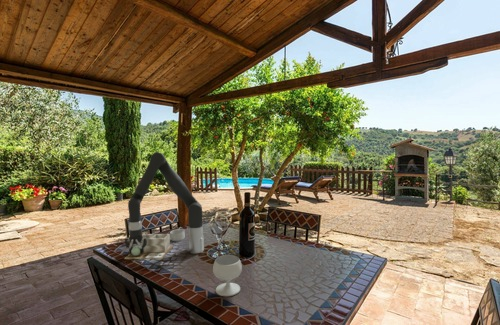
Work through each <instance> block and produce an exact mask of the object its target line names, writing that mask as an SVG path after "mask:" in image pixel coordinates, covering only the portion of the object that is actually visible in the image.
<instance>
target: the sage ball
mask: <svg viewBox="0 0 500 325" xmlns="http://www.w3.org/2000/svg"><path fill="white" fill-rule="evenodd" d="M131 252H132V254H133V255H134V256H137V255H139V254H140V247H139V246H136V245H135V246H133V247H132V251H131Z"/></svg>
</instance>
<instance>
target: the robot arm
mask: <svg viewBox="0 0 500 325" xmlns="http://www.w3.org/2000/svg"><path fill="white" fill-rule="evenodd" d="M158 171H159V172H160V173H161V175H162V176H163V178H164V180H165V182H166V183H167V186H168V187H169V188H170V190H171V191H172V193H174V194H175V196H177V198H179V199H180V200H181V201H182V202H183V203H184V204H185V206H186V208H187V209H188V210H187V217H188V218H187V220H188V242H189V243H188V244H189V245H188V246H189V253H190V254H200V253H201V254H202V253H203V252H204V251H205V241H204V240H205V236H204V229H203V228H204V226H203V207H202V205H201V203H200V202H199V201H198V200H197V199H196V198H195V196H193V195H192V193H191V191H190V189H189V188H188V186H187V184H186V183H185V182H184V181H183V179H182V178H181V177H180V175H179V174H178V173H177V172H176V171H175V170H174V169H173V168H172V166H171V165H170V163H169V161H168V160H167V158H166V157H165V155H164V154H163V153H162V152H158V151H157V152H154V153H152V154H151V156H150V159H149V162H148V164H147V167H146V169H145V171H144V173H143V175H142V177H141V179H139V182H138V183H137V185H136V187H135V190H134V192H133V193H132V195H131V197H130V199H129V201H128V202H127V209H128V214H129V215H128V221H129V223H128V229H129V230H128V232H129V233H128V234H129V235H128V236H129V237H126V238H124V242H125V247H126V248H127V249H129V251H128V252H129V254H132V252H131V251H132V248H133V247H134V245H136V244H138V246H140V254H142V253H143V252H144V249H143V248H144V247H145V246H146V245H147V237H146V238H143V237H142V234H143V223H142V214H141V204H142V201H143V199H144V197H145V195H146V194H147V193H148V191H149V190H150V186H151V185H152V183H153V180H154V177H155V175H156V174H157V172H158ZM141 240H143V243H142V241H141Z"/></svg>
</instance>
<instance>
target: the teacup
mask: <svg viewBox="0 0 500 325" xmlns="http://www.w3.org/2000/svg"><path fill="white" fill-rule="evenodd" d="M169 234H170V241H172V242H181V241H184V240H185V229H184V228H177V229H173V230H171V231H170V232H169Z"/></svg>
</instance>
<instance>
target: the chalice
mask: <svg viewBox="0 0 500 325" xmlns="http://www.w3.org/2000/svg"><path fill="white" fill-rule="evenodd" d="M242 270H243V266H242V261H241V260H240V258H239V256H237V255H235V254H234V255H233V254H225V255H220V256H218V257H217V258H216V259H215V260H214V262H213V267H212V272H213V275H214V276H215V277H216V278H217V279H219V280H223V281H224V283H221V284H219V285H217V287H216V288H215V293H216V294H217V295H218V296H220V297H221V296H222V297H232V296H235V295H237V294H239V293H240V292H241V287H240V285H239V284H237V283H235V282H231V281H232V280H234V279H236V278H237V277H239V276H240V275H241V273H242Z"/></svg>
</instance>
